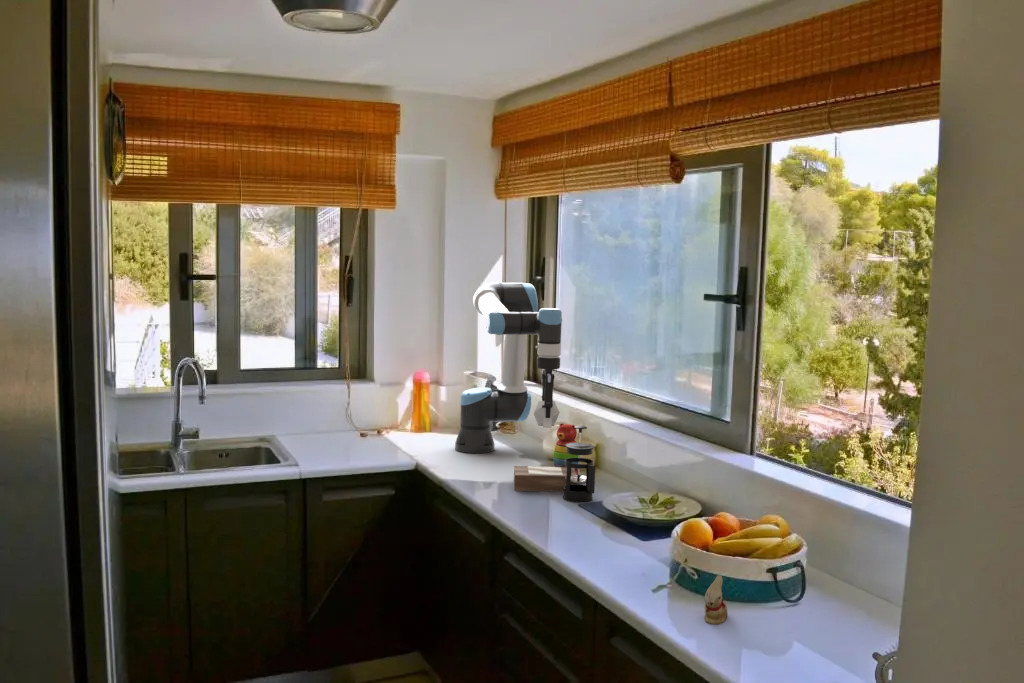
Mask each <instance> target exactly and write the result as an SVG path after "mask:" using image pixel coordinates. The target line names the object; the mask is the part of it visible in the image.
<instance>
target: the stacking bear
mask: <svg viewBox="0 0 1024 683" xmlns="http://www.w3.org/2000/svg"><path fill="white" fill-rule="evenodd" d="M575 426H576V425H574V424H568V423H567V424H564V423H559V427H558V428H557V431H556V436H557V439H558V440H557V441H556V443H555V445H554V448H553V453H552V460H553V467H567V466H565V459H568V458H579V455H573V454H569V453H567V447H566V446H565V445H566V444H568V443H578V442H577V441H576V438H577V434H578V433H577V429H576V428H574V427H575ZM572 464H579V462H572ZM574 469H575V472H576V475H578V468H574Z"/></svg>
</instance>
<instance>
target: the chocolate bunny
mask: <svg viewBox="0 0 1024 683" xmlns="http://www.w3.org/2000/svg"><path fill="white" fill-rule="evenodd" d="M723 583H724V580H723V576H722V575H720V574H718V575H717V576H716V577H715V579H714V580H713V582H712V583H710V586H709V587H708V588H707V589H706V592H705V593H704V597H703V598H704V603H705V604H704V622H706V624H709V625H714V626H716V625H717V626H718V625H720V624H723V623H725V622H726V621H727V619H728V608H727V604H726V602H725V601H724V600H725V599H723V592H722V591H723V590H722V587H723Z"/></svg>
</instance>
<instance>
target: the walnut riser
mask: <svg viewBox="0 0 1024 683" xmlns="http://www.w3.org/2000/svg"><path fill="white" fill-rule="evenodd" d="M571 475H576V472H575V469H574V468H572V469H571ZM566 476H567V467H555V466H536V465H535V466H534V465H533V466H531V465H529V466H528V465H514V466H513V485H514V486H513V488H514V491H525V492H526V491H528V492H529V491H533V492H537V491H538V492H564V486H566V479H565V477H566ZM571 484H578V483H571Z"/></svg>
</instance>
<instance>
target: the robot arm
mask: <svg viewBox="0 0 1024 683" xmlns="http://www.w3.org/2000/svg"><path fill="white" fill-rule="evenodd" d="M537 294H538V293H537V291H536V288H535V286H534V285H533V284H531V283H529V282H528V283H526V282H497V281H495V282H490V283H486V284H483V285H482V286H480V287H479V288H478V289H477V290H476V292H474V295H473V298H472V303H473V304H472V305H473V306H474V309H475V310H476V312H478V313H479V314H480V315H483V316H484V317H485V319H486V324H485V325H486V329H487V333H488V334H490V335H497V336H500V335H503V349H502V365H501V366H502V368H501V382H500V383H499V384H498V385H497V386H496V391H493V390H492V388H491V387H481V386H480V387H474V388H469V389H466V390H464V391H462V393H461V395H460V396H461V397H460V403H459V404H460V417H459V418H460V419H459V420H460V421H459V422H460V423H459V431H458V435H457V437H456V440H455V444H454V448H455V450H456V451H458V452H461V453H467V454H468V453H469V454H484V453H491V452H494V451H495V444H496V443H495V441H494V437H493V433H492V431H491V423H508V422H509V423H512V422H513V423H517V422H525V421H526V420H527V419H528V417H529V415H530V413H531V409H532V394H531V393H530V391H528V387H527V386H526V384H525V371H526V370H525V368H526V353H527V337H528V335H529V336H530V335H531V336H533V335H535V336H537V345H535V349H536V350H537V353H536V354H537V355H538V356H537V357H536V367H537V369H540V370H542V373H541V385H542V390H541V401H544V405H542V408H544V412H543V426H542V428H543V429H544V428H545V429H552V427H553V426H552V407H553V401H554V391H553V390H554V385H555V384H554V382H555V373H553V370H559V369H560V368H561V357H560V356H561V354H562V352H561V350H562V343H561V341H562V324H563V317H562V310H561V309H560V308H554V307H553V308H552V307H551V308H550V307H544V308H543V307H542V308H540V309H539V301H538V295H537Z"/></svg>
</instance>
